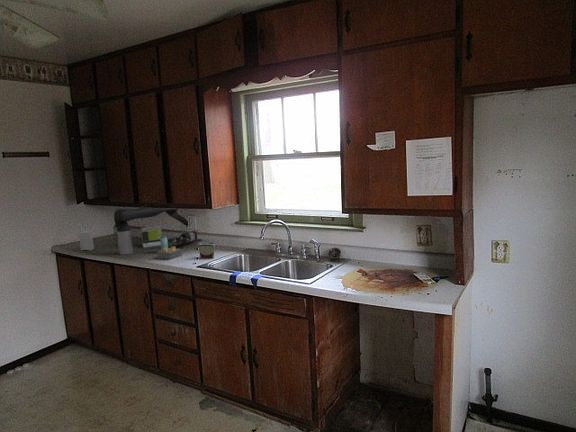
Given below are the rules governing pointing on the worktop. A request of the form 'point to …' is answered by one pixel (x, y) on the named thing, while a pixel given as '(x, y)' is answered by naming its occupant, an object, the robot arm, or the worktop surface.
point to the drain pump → (163, 242)
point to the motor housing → (169, 253)
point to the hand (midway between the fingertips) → (172, 241)
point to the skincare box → (86, 240)
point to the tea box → (151, 236)
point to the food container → (206, 250)
